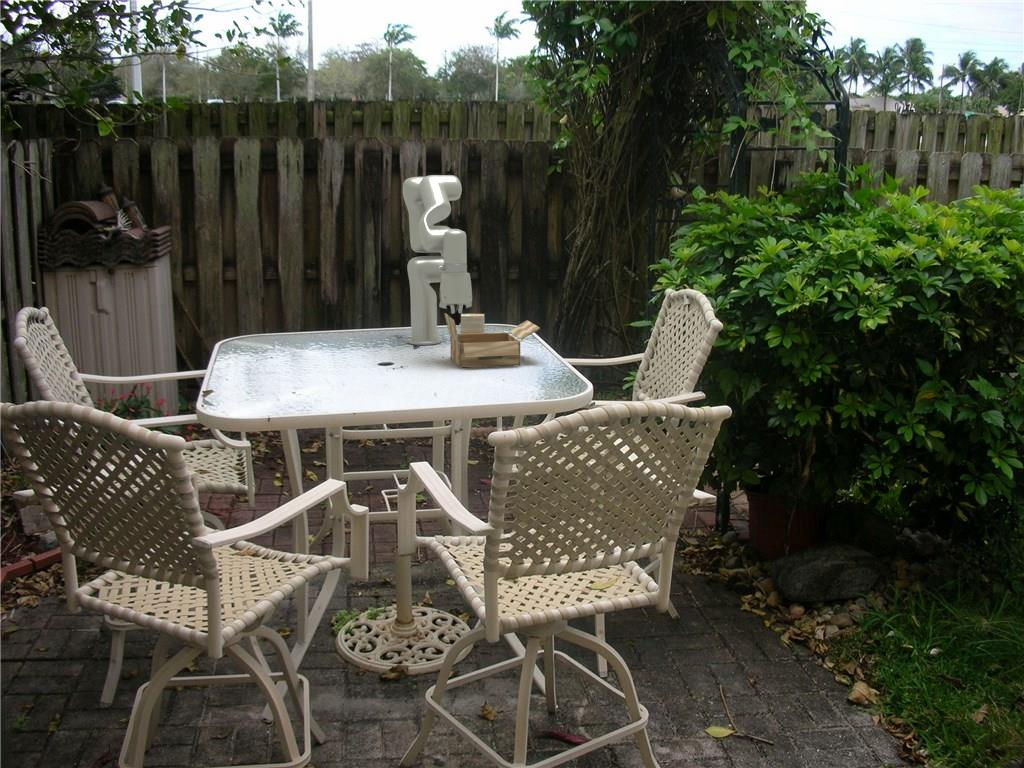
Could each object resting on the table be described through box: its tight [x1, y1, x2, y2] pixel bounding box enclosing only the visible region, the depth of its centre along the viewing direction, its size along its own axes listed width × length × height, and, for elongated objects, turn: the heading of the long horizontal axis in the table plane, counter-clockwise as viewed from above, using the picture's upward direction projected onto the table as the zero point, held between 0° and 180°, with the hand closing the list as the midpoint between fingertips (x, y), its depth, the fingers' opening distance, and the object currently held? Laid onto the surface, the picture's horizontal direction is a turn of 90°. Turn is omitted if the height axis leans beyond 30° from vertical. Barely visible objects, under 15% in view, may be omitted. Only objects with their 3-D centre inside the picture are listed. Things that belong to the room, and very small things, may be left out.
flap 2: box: [457, 331, 506, 335], centre depth 330 cm, size 1×18×5 cm, turn 104°
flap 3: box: [463, 341, 519, 358], centre depth 311 cm, size 1×18×5 cm, turn 103°
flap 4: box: [509, 319, 541, 341], centre depth 323 cm, size 16×1×7 cm
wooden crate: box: [449, 332, 521, 369], centre depth 321 cm, size 17×20×8 cm
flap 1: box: [444, 312, 459, 342], centre depth 317 cm, size 16×1×7 cm, turn 14°
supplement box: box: [459, 313, 486, 334], centre depth 339 cm, size 8×5×13 cm, turn 84°
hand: (456, 325), depth 316 cm, fingers closed
